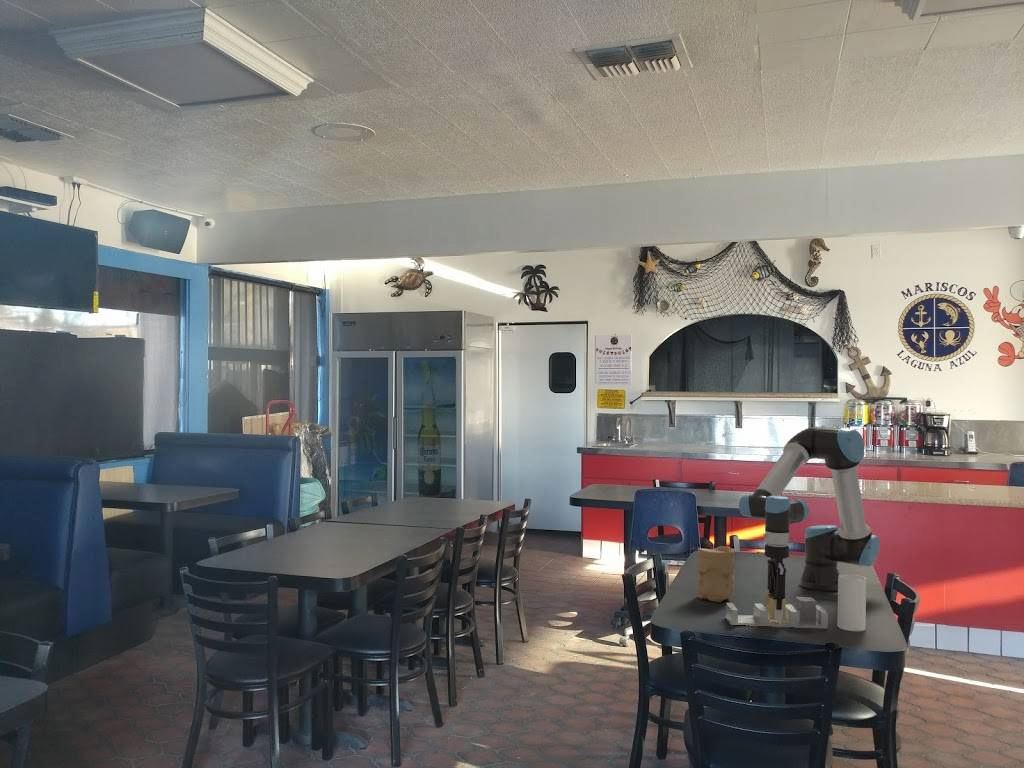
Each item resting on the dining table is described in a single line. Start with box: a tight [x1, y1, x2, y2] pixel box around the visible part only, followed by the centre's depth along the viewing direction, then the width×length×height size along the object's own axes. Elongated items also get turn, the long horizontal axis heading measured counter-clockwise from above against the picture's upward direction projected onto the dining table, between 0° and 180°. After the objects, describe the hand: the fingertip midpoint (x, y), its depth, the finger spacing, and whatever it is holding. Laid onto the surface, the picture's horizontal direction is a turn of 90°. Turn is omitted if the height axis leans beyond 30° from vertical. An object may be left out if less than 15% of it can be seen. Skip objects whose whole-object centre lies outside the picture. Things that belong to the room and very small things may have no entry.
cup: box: [837, 573, 867, 632], centre depth 268 cm, size 8×8×16 cm
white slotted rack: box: [725, 596, 829, 630], centre depth 272 cm, size 30×9×8 cm, turn 87°
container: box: [697, 545, 735, 603], centre depth 301 cm, size 13×13×18 cm
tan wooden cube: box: [765, 593, 787, 620], centre depth 272 cm, size 5×5×7 cm
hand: (775, 616), depth 272 cm, fingers closed on tan wooden cube, 5 cm apart
